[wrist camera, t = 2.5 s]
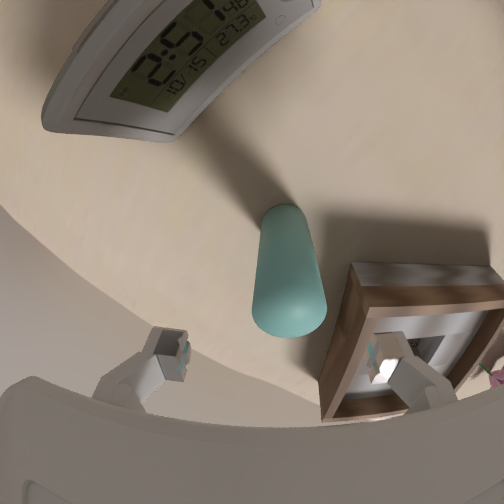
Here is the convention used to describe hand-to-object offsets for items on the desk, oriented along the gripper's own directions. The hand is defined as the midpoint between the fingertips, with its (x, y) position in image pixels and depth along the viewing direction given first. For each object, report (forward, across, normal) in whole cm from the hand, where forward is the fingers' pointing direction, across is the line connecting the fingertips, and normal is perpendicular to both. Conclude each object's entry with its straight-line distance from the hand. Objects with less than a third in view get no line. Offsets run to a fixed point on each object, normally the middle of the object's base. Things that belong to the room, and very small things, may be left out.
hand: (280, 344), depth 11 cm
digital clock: (+12, +4, -14) cm, 19 cm away
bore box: (+12, -16, +12) cm, 23 cm away
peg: (+12, -1, 0) cm, 12 cm away
